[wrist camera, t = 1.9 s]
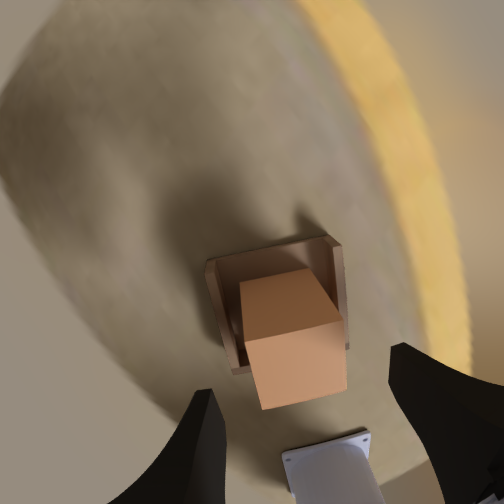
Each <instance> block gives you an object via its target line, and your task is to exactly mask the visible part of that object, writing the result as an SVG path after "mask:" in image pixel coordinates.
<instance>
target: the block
mask: <svg viewBox="0 0 504 504" xmlns="http://www.w3.org/2000/svg"><path fill="white" fill-rule="evenodd" d="M240 295H241V307H242V319H243V331H244V342H245V346H246V350H247V354H248V358H249V362H250V365H251V369H252V373H253V377H254V381H255V384H256V388H257V392H258V396H259V399H260V403H261V407H262V410H265V409H270V408H275V407H280V406H285V405H290V404H294V403H299V402H303V401H307V400H311V399H315V398H319V397H323V396H327V395H331V394H335V393H338V392H342V391H345V390H347V381H346V352H345V332H344V319H343V318H342V316H341V315H340V313H339V312H338V310H337V309H336V307H335V306H334V304H333V303H332V301H331V300H330V298H329V296H328V295H327V293H326V292H325V290H324V289H323V287H322V286H321V284H320V283H319V281H318V280H317V279H316V277H315V276H314V274H313V273H312V271H311V270H310V268H306V269H301V270H297V271H292V272H287V273H283V274H278V275H273V276H269V277H264V278H259V279H254V280H249V281H244V282H240Z"/></svg>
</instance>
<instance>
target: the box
mask: <svg viewBox="0 0 504 504" xmlns="http://www.w3.org/2000/svg"><path fill="white" fill-rule="evenodd" d="M306 268H310V270H311V271H312V273H313V274H314V276H315V277H316V279H317V280H318V281H319V283H320V284H321V286H322V287H323V289H324V290H325V292H326V293H327V295H328V296H329V298H330V300H331V301H332V303H333V304H334V306H335V307H336V309H337V310H338V312H339V313H340V315H341V316H342V318H343V319H344V332H345V350H348V349H349V328H348V311H347V296H346V283H345V272H344V261H343V251H342V245H341V244H340V243H338V242H337V241H336V240H335V239H334V238H333V237H331V236H330V235H325V236H320V237H315V238H310V239H306V240H301V241H296V242H291V243H286V244H281V245H277V246H272V247H267V248H262V249H257V250H252V251H248V252H243V253H238V254H233V255H228V256H223V257H219V258H214V259H209V260H207V263H206V268H205V273H204V275H205V279H206V283H207V286H208V290H209V294H210V297H211V301H212V305H213V308H214V312H215V315H216V319H217V322H218V326H219V329H220V333H221V336H222V340H223V343H224V347H225V350H226V353H227V357H228V360H229V363H230V367H231V370H232V373H233V375H237V374H242V373H248V372H252V369H251V365H250V362H249V358H248V354H247V350H246V346H245V342H244V331H243V319H242V307H241V295H240V282H244V281H249V280H254V279H259V278H264V277H269V276H273V275H278V274H283V273H287V272H292V271H297V270H301V269H306Z"/></svg>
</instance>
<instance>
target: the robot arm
mask: <svg viewBox="0 0 504 504" xmlns="http://www.w3.org/2000/svg"><path fill="white" fill-rule="evenodd" d="M388 383H389V386H390V388H391V390H392V393H393V395H394V397H395V399H396V401H397V403H398V405H399V406H400V408H401V409H402V411H403V413H404V414H405V416H406V417H407V419H408V421H409V422H410V424H411V425H412V427H413V428H414V430H415V432H416V433H417V435H418V436H419V438H420V440H421V442H422V443H423V445H424V447H425V449H426V452H427V454H428V456H429V459H430V461H431V463H432V466H433V468H434V471H435V473H436V476H437V478H438V481H439V484H440V487H441V490H442V494H443V497H444V500H445V504H504V386H501V385H497V384H492V383H489V382H485V381H482V380H479V379H476V378H474V377H471V376H468V375H466V374H463V373H461V372H459V371H457V370H454V369H452V368H450V367H448V366H446V365H444V364H442V363H440V362H438V361H437V360H435V359H433V358H431V357H429V356H428V355H426V354H424V353H422V352H421V351H419V350H417V349H415V348H414V347H412V346H410V345H408V344H406V343H404V342H403V343H400V344H397V345H394V346H391V353H390V367H389V380H388ZM370 438H371V433H370V431H363V432H360V433H356V434H353V435H350V436H346V437H343V438H339V439H336V440H332V441H328V442H325V443H321V444H317V445H312V446H308V447H304V448H299V449H295V450H290V451H286V452H283V453H282V460H283V464H284V468H285V471H286V475H287V479H288V483H289V487H290V490H291V494H292V497H295V499H296V504H385V502H384V499H383V497H382V494H381V492H380V489H379V487H378V484H377V482H376V479H375V477H374V474H373V472H372V470H371V467H370V465H369V462H368V455H369V447H370ZM226 447H227V442H226V430H225V421H224V419H223V416H222V414H221V411H220V409H219V406H218V404H217V401H216V398H215V396H214V393H213V391H212V388H211V389H204V390H197V391H196V392H195V393H194V396H193V398H192V400H191V402H190V404H189V406H188V408H187V410H186V412H185V414H184V416H183V418H182V419H181V421H180V423H179V425H178V427H177V428H176V430H175V432H174V433H173V435H172V437H171V438H170V440H169V441H168V443H167V444H166V446H165V447H164V449H163V450H162V451H161V453H160V454H159V455H158V457H157V458H156V459H155V460H154V462H153V463H152V464H151V465H150V466H149V468H148V469H147V470H146V471H145V472H144V473H143V474H142V475H141V476H140V477H139V478H138V479H137V480H136V481H135V482H134V483H133V484H132V485H131V486H130V487H128V488H127V489H126V490H125V491H124V492H123V493H121V494H120V495H119V496H118V497H116V498H115V499H114V500H112V501H111V502H109V503H108V504H225V471H226Z"/></svg>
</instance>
